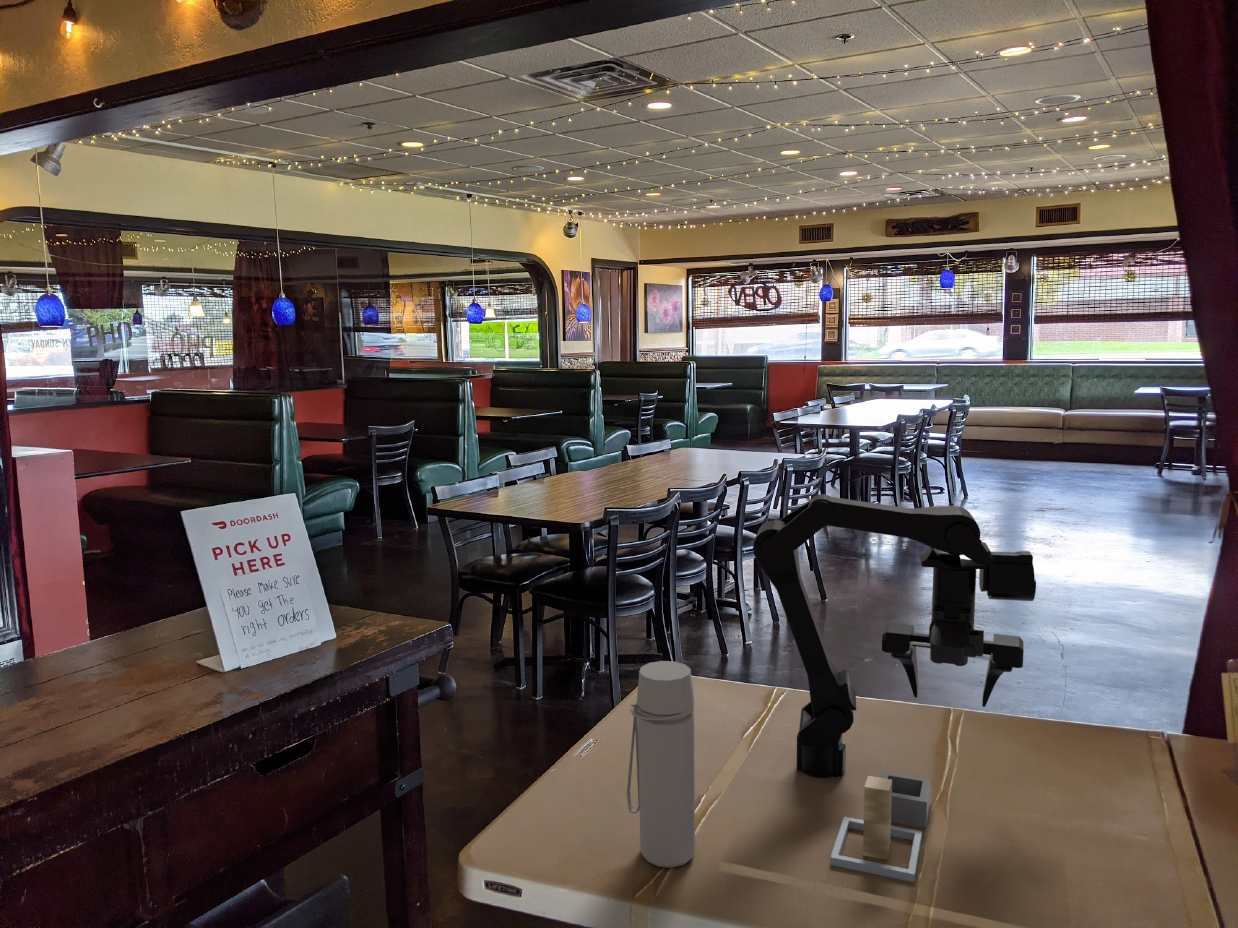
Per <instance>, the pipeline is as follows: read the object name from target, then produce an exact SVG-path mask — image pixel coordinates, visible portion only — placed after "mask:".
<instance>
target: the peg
mask: <svg viewBox="0 0 1238 928" xmlns="http://www.w3.org/2000/svg"><path fill="white" fill-rule="evenodd" d="M863 791H864V794H863V795H864V799H863V801H864V802H863V820H864V831H862V832H863V839H862V855H863V857H864V856H865V857H870V858H874V859H879V860H885V861H888V860H889V855H890V850H891V840H892V839H891V837H892V836H891V826H892V822H891V807H892V780H891V779H886V778H880V776H872V775H868V776H867V778H866V781H865V783H864V788H863Z"/></svg>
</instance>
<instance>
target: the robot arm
mask: <svg viewBox="0 0 1238 928" xmlns="http://www.w3.org/2000/svg"><path fill="white" fill-rule="evenodd" d="M824 527H835V528H841V529H846V530H855V531H860V532H866V533H867V532H868V533H873V534H881V535H887V536H893V537H899V538H906V539H910V540H911V541H915V542H918V543H920V544H922V545H924V546H927V547H929V549H928V550H927V551H926V552H925V553H924V554H921V555H920V556H919V558H918V559H919V563H920V566H921V567H922V568H932V570H933V571H932V593H931V594H932V597H931V622H930V624H929V628H928V633H917V632H915V627H914V624H906V623H897V622H889V623H888V624H886V626H885V629H884V630H883V633H882V636H881V637H882V638H881V651H882V652H884V653H885V654H890V656H891V658H892V659H897V660H898V661H899V662H900V663H901V665H902V667H903V668H904V671H905V673H906V676H907V679H908V682H909V685H910V688H911V691H912V694H913V698H918V696H919V674H918V673H919V672H918V662H917V661H918V657H917V647H918V648H925V649H926V648H927V649H929V651H930V654H929V657H930V659H929V660H930V661H931V662H932V663H934V664H938V665H940V664H949V665H954V666H956V667H963V666H967V664H968V661H969V658H974V659H976V657H980V658H982V657H984V656H983V655H986V656H989V659H988V665H987V670H986V675H985V680H984V686H983V692H982V699H981V700H982V701H981V703H982V705H981V706H982V707H983V708H984V707H986V705H987V703H988V701H989V699H990V697H991V694H992V692H993V690H994V688H995V686H996V683H997V682H998V680H999V679H1000V678H1001V676H1002V675H1003V673H1012V671H1013V669H1014V668H1015V669H1022V668H1023V667H1024V650H1025V649H1024V640H1023V639H1022V638H1021V637H1020V636H1019V635H1018V636H1017V635H1008V634H1000V633H993V641H991V640H984V639H985V630H980V629H975V615H976V614H975V609H976V590H977V589H976V586H977V570H979V573H978V575H979V576H978V580H979V582H978V584H979V590H980V592H986V595H987V598H988V600H997V601H998V600H999V601H1015V602H1017V601H1020V602H1034V600H1035V598H1036V591H1037V581H1036V578H1035V568H1034V563H1033V562H1034V561H1033V560H1034V555H1032V553H1031V551H1025V550H1021V551H1020V550H1019V551H1012V552H1011V551H993V550H992V551H991V549H990V547H989V546H988V545H987V542H986V541H985V542H983V541H982V539H981V529H980V527H979V524H978V522H977V521H976V519H975V518H974V516H973V515H972V514H971V512H970V511H968V509H966V508H964V507H962V506H958V505H957V506H956V505H941V506H939V505H936V506H935V505H932V506H927V507H926V506H925V507H916V508H915V507H914V508H912V507H911V508H908V507H902V506H896V505H890V504H889V505H888V504H883V503H882V504H881V503H874V502H868V501H860V500H855V499H848V498H842V497H833V496H831V495H828V494H826V493H825V494H824V493H823V494H822V493H820V494H819V493H818V494H817V495H814V496H813V497H812V498H811V499H810V500H809V501H808V502H806V503H804V504H803V505H801V506H799V507H797V508H796V509H794V510H793V511H791V512H789V513H788V514H786V515H785V516H783V517H782V518H781V519H779V520H778V519H774V520H773V519H772V520H769V521H766V522H764V523H763V524H762V525H761V526H760V527H759V528H758V531H757V533H756V535H755V539H754V542H753V545H752V552H753V555H754V558H755V559H756V561H757V563H758V564H759V566H760V568H761V569H762V572H763V573H764V575H765V576H766V578H767V579H768V580H769V582H770V583H771V585H772V586H773V587H774V588H775V590H776V592H777V595H778V598H779V600H780V602H781V605H782V608H783V611H784V614H785V618H786V620H787V623H788V625H789V628H790V631H791V634H792V636H793V639H794V642H795V645H796V648H797V651H798V652H799V655H800V659H801V661H802V662H801V663H802V665H803V667H804V670H805V673H806V675H807V682H808V690H809V699H810V701H809V702H808V703H806V704H805V705H804V706H803V707H802V708H801V710H800V718H799V727H798V732H797V734H796V771H799V772H802V773H803V774H804V775H806V776H810V777H811V778H818V779H827V778H828V779H829V778H840V777H841V778H842V777H843V776H844V773H845V772H846V766H847V765H846V762H847V761H846V759H847V758H846V756H847V755H846V754H847V752H846V751H847V744H845V743H843V734H846V732H848V731H849V730H850V729H851V728H852V725H853V724H854V720H855V719H854V713H855V712H854V711H857V690H856V689H855V688H854V687H853V686H852V684H851V681H850V676H849V671H848V668H845V669H843V670H841V671H839V670H838V669H837V668H836V667H835V665H834V664H833V662H832V660H831V657H830V654H829V652H828V649H827V646H826V644H825V640H824V638H823V635H822V632H821V629H820V627H819V624H818V623H819V622H818V621H817V618H816V616H815V612H814V610H813V607H812V603H811V601H810V599H809V596H808V593H807V590H806V586H805V584H804V582H803V579H802V575H801V566H800V558H799V550H798V549H799V548H800V547H801V546H802V545H804V544H805V543H806V542H807V541H808V540H810V539H811V538H812V537H813V536H814V535H815V534H817V533H818V532H819V531H820V530H822V529H823V528H824ZM937 550H938V551H937ZM939 551H941V552H939ZM961 556H965V557H966V558H968V559H966V558H961Z"/></svg>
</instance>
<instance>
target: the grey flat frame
mask: <svg viewBox="0 0 1238 928" xmlns="http://www.w3.org/2000/svg"><path fill="white" fill-rule="evenodd" d="M849 829H853V830H858V831H862V832H864V819H858V818H852V817H849V816H843V819H842V821H841V825H840V827H839V830H838V834H837V837H836V838H835V839H836V840H835V843H834V846H833V849H832V851H831V854H830V856H829V857H830V862H829V863H830V866H836V867H839V868H844V869H849V870H853V871H859V872H862V873H863V872H864V873H868V874H872V875H877V876H882V877H887V878H892V879H896V880H897V879H898V880H902V881H906V882H911V883H915V879H916V873H917V869H918V868H917V867H918V862H919V861H918V860H919V856H920V851H921V845H922V838H923V831H922V830H917V829H911V828H908V827H902V826H895V825H891V837H895V838H899V839H903V840H909V841H912V847H911V853H910V858H909V861H908V862H909V863H908V868H904V867H899V866H896V865H895V866H894V865H889V864H883V863H880V862H874V861H869V860H864V859H860V858H856V857H855V858H854V857H850V856H845V855H842V853H843V852H842V851H843V848H844V845H845V842H846V838H847V835H848V832H849Z"/></svg>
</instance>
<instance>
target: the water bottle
mask: <svg viewBox="0 0 1238 928" xmlns="http://www.w3.org/2000/svg"><path fill="white" fill-rule="evenodd" d="M637 683H638V684H637V694H636V695H637V696H636V701H633V702H632V703H631V704H630V706H631V707H630V712H631V715H632V716H633V720H632V722H633V723H632V732H631V733H632V734H631V743H630V755H629V764H628V765H629V766H628V776H627V786H626V798H627V799H626V801H627V802H626V803H627V809H628V812H629V813H632V814H634V815H635V814H637V813H639V841H640V843H639V847H640V853H641V855H642V856H643V858H644V859H645V860H646V861H647V863H649V864H652V865H654V866H656V867H659V868H677V867H680V866H684V865H685V864H686V863H687V862H689V861H690V860H691V859H692V858H693V857H694V856H695V851H696V806H695V805H696V795H695V794H696V791H695V790H696V787H695V785H696V784H695V781H696V780H695V779H696V778H695V775H696V774H695V711H694V710H695V705H696V702H695V697H694V688H693V679H692V669H691V668H690V667H689V666H688V665H687V664H685V663H682V662H681V663H680V662H678V661H670V660H659V661H654V662H647V663H646V664H644V665H642V666H641V667H640V669H639V671H638V682H637ZM634 747H635V753H636V755H635V757H636V778H637V779H636V780H637V783H636V784H637V805H638V806H637V809H636V808H634V807H633V804H632V797H631V782H632V771H633V758H634Z"/></svg>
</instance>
